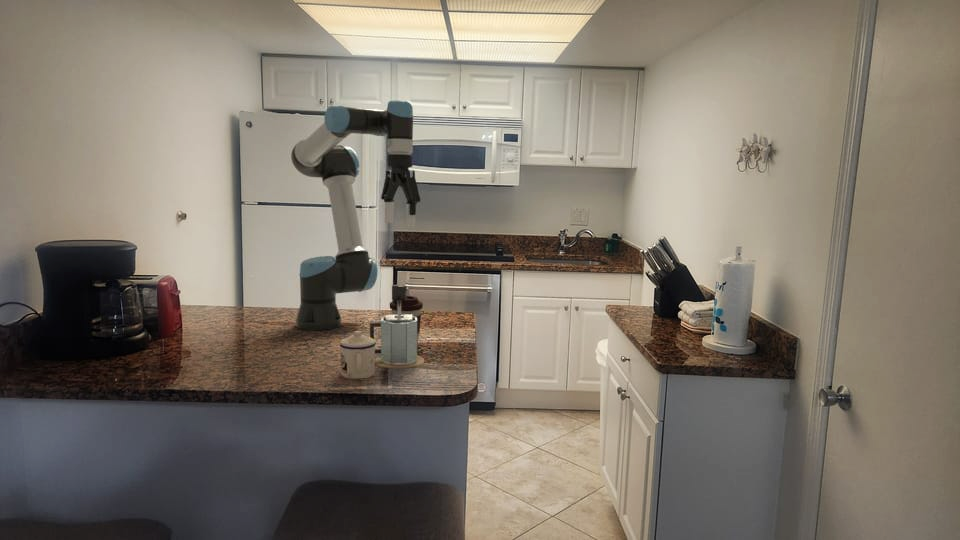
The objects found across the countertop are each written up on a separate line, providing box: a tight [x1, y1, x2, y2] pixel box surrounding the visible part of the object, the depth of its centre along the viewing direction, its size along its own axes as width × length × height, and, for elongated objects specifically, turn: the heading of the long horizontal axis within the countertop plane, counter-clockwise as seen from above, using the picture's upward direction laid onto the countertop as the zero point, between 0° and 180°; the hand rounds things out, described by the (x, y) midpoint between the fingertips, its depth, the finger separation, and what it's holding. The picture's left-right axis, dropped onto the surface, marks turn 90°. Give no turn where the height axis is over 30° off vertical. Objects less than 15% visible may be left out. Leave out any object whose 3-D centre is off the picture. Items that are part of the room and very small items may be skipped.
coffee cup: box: [389, 295, 424, 346], centre depth 184 cm, size 10×10×15 cm
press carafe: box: [369, 314, 418, 366], centre depth 167 cm, size 10×13×12 cm
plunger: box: [391, 284, 408, 323], centre depth 166 cm, size 8×8×19 cm
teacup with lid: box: [339, 330, 377, 379], centre depth 155 cm, size 12×9×12 cm
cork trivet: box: [375, 354, 425, 369], centre depth 168 cm, size 14×14×1 cm
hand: (399, 224), depth 185 cm, fingers open, 13 cm apart
